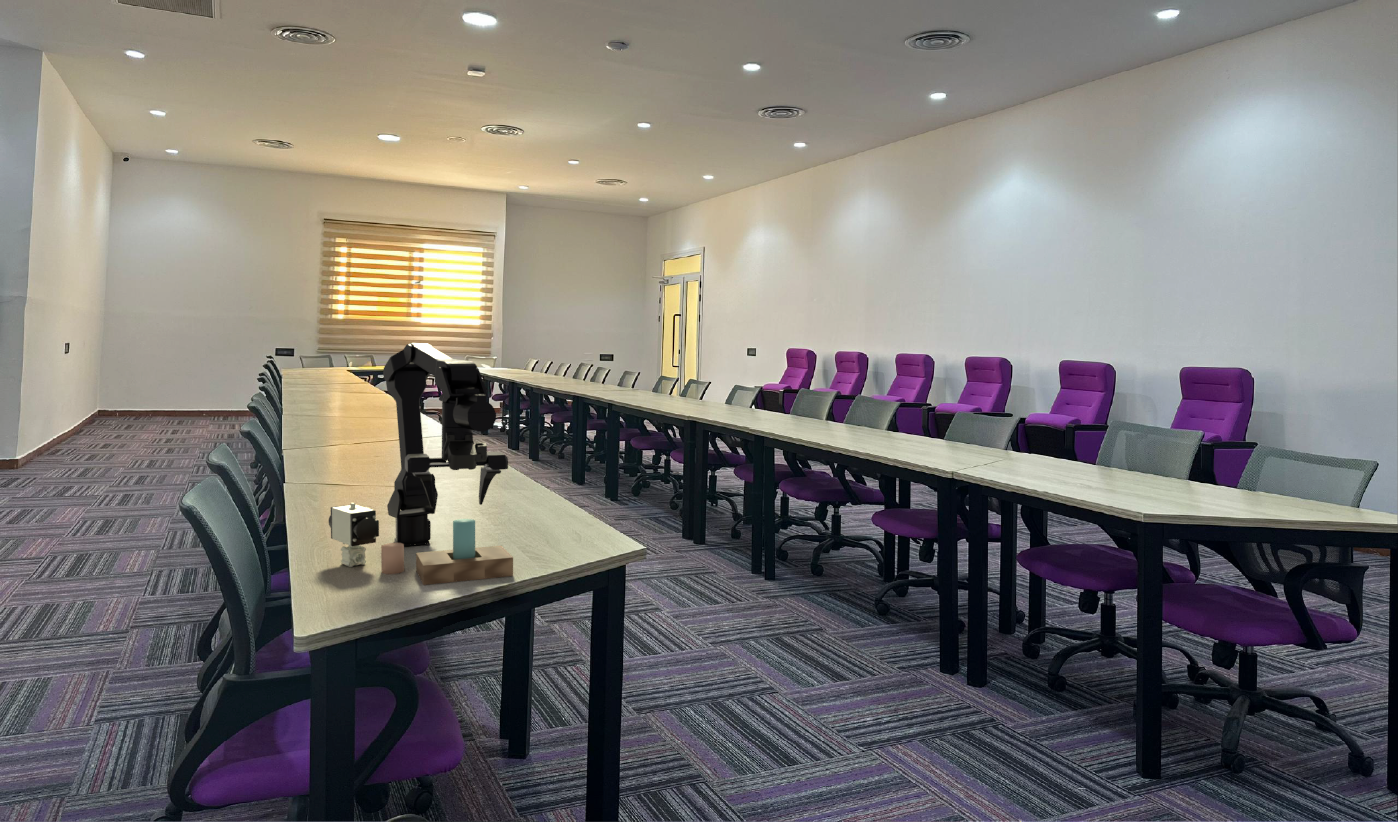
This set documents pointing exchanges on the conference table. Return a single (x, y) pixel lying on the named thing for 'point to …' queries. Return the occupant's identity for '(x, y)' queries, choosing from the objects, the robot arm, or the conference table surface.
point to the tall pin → (463, 539)
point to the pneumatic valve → (353, 531)
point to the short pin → (392, 558)
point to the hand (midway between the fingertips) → (456, 505)
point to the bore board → (463, 565)
